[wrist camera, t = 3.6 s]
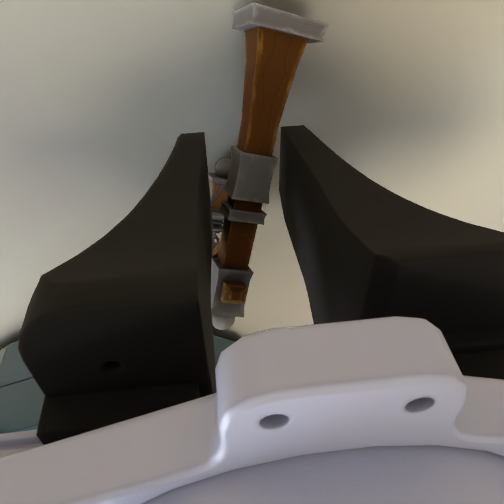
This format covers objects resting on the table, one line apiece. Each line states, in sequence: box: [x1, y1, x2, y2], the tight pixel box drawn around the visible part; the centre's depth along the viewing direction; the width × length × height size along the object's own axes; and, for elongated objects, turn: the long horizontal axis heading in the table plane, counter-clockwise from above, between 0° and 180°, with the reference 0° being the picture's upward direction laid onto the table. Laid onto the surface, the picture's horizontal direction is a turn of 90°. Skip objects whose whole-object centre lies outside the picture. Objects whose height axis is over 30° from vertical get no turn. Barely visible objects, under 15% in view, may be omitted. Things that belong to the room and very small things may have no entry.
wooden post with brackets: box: [208, 2, 330, 330], centre depth 13 cm, size 2×8×4 cm, turn 165°
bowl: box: [0, 335, 235, 434], centre depth 22 cm, size 15×15×4 cm
